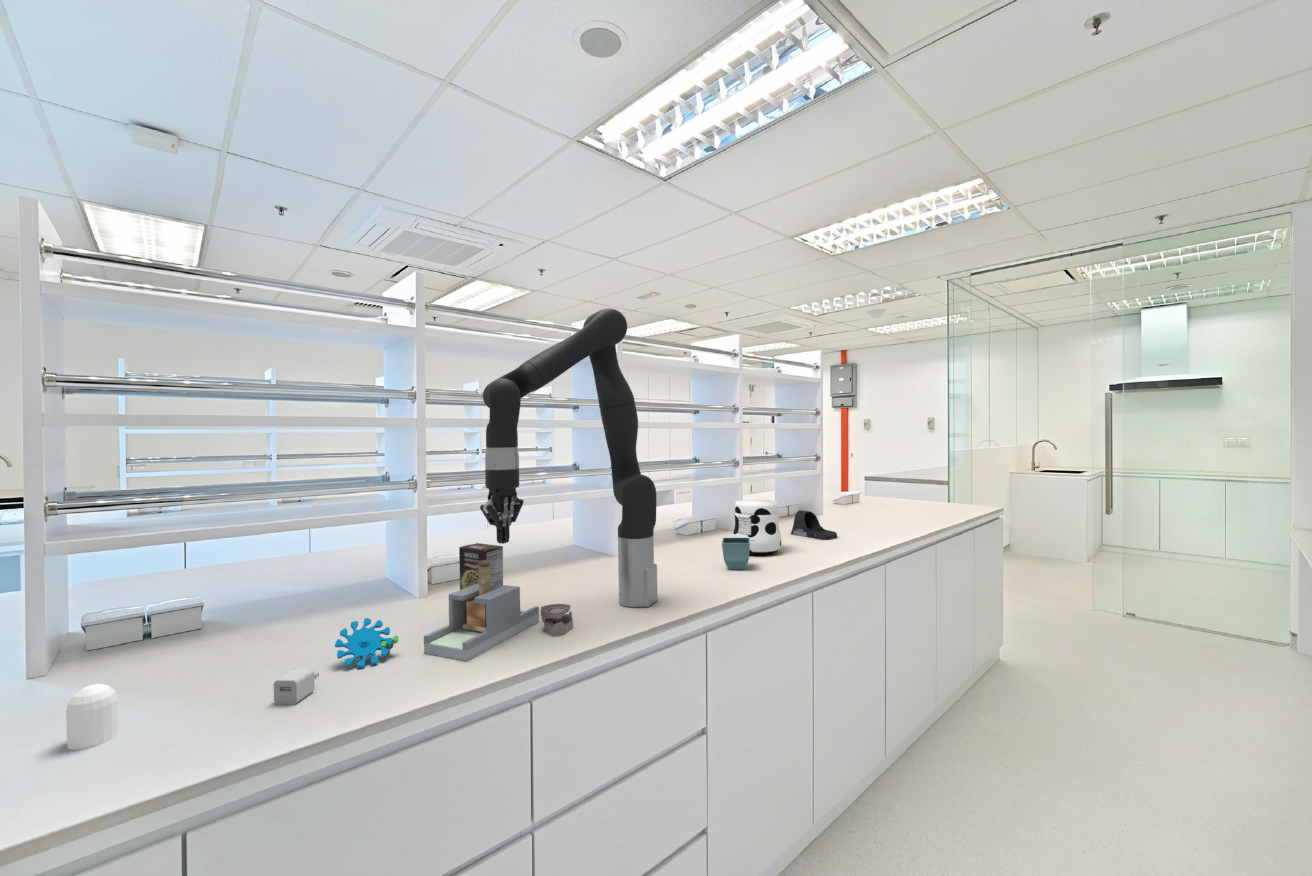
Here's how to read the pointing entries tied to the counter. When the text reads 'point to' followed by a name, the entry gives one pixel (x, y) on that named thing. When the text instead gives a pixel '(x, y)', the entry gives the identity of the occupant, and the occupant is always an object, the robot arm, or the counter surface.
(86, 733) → the white domed cylinder
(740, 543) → the flower pot
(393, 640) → the gear
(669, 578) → the counter surface
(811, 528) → the sight
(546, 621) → the dental mold
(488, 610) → the tunnel
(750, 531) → the milk container
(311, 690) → the usb wall charger
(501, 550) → the coffee box
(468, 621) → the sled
